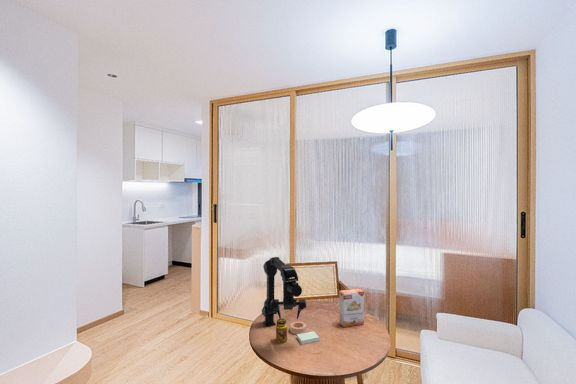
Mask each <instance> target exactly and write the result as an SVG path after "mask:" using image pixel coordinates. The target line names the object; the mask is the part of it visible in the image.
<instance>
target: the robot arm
mask: <svg viewBox="0 0 576 384" xmlns="http://www.w3.org/2000/svg"><path fill="white" fill-rule="evenodd" d="M262 267H263V271H264V273H265V276H266V299H265V301H264V302H263V307H262V308H261V315H263V317H264V321H263V324H264V326H265V327H272V326H276V325H277V323H276V322H275V315H278V319H280V320H281V319H282V312H281V306H283V310H285V311H286V310H288V311H289V310H290V311H292V310H293V308H295V307H297V314H296V320H297V321H298V320H299V317H300V314H301V311H303V310H304V309H307V300H306V299H303V298H301V299H300V298H299V299H298V301H297V299H295V298H297V297H299V296H301V294H302V293H303V288H302V286H301V285H299V280H300V279H299V275H298V274H297V270H296V269H295V267H294V266H293V265H287V264H286V263H285V262H283V261H282V260H281V259H280V257H279V256H274V257H270V258H269V259H268V260H267V261H265V262H264V264H263V266H262ZM278 271H279V272H280V277H281V281H282V289H283V290H282V293H283V294H282V295H283V297H282V301H280V299H276V298H275V277H276V275H277V273H278Z"/></svg>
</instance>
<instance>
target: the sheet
mask: <svg viewBox="0 0 576 384" xmlns="http://www.w3.org/2000/svg"><path fill="white" fill-rule="evenodd" d="M296 338H297V339H298V340H299V342H300V343H301V344H304V345H307V344H306V343H309V344H312V343H311V342H314V343H317V342H316V341H319V340H320V336H319V335H318V334H317V333H316V332H315V331H314V330H313V331H309V332H307V331H306V332H305V333H302V334H297V335H296ZM297 339H296V340H297ZM298 340H297V341H298ZM299 342H298V343H299ZM319 342H320V341H319ZM300 343H299V344H300ZM301 344H300V345H301Z"/></svg>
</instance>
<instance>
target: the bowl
mask: <svg viewBox="0 0 576 384" xmlns="http://www.w3.org/2000/svg"><path fill="white" fill-rule="evenodd" d="M289 327H290V328H289V331H290V333H291V334H293V335H295V336H297V334H302V333H307V324H306V322H303V321H298V320H297V321H293V322H291V323H290V325H289Z"/></svg>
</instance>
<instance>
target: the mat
mask: <svg viewBox="0 0 576 384" xmlns="http://www.w3.org/2000/svg"><path fill="white" fill-rule="evenodd" d="M295 339H296V341H297V342H298V343H299V344H300V346H303V345H308V344H312V343H313V344H314V343H319V342H321V339H319V341H316V342H311V343H306V344H301V343H300V342H299V340H298V339H297V337H295Z"/></svg>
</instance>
